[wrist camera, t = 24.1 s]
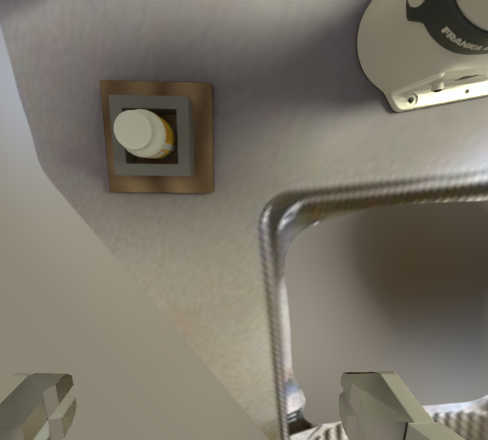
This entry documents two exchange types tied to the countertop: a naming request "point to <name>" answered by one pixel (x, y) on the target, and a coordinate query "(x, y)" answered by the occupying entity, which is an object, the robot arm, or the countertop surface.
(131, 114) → the supplement bottle
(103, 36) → the countertop surface
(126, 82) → the collar socket
